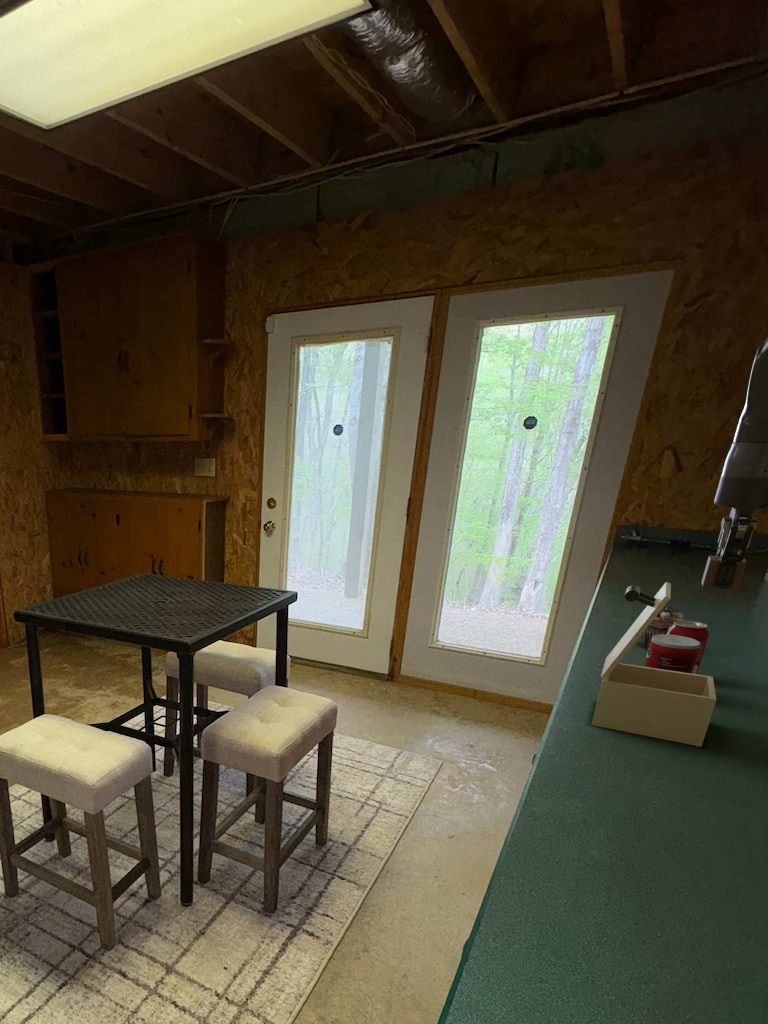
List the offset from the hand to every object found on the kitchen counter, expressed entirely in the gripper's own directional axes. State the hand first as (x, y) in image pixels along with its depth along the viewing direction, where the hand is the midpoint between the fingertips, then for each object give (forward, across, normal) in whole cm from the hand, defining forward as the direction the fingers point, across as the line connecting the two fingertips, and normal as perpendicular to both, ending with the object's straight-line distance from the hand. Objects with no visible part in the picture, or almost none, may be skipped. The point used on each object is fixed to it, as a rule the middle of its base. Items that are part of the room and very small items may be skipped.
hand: (720, 584), depth 101 cm
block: (0, 0, 0) cm, 0 cm away
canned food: (+26, +20, +2) cm, 33 cm away
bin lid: (+9, 0, +9) cm, 13 cm away
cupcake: (+26, +53, +3) cm, 60 cm away
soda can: (+26, +31, 0) cm, 41 cm away
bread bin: (+26, 0, +5) cm, 27 cm away
